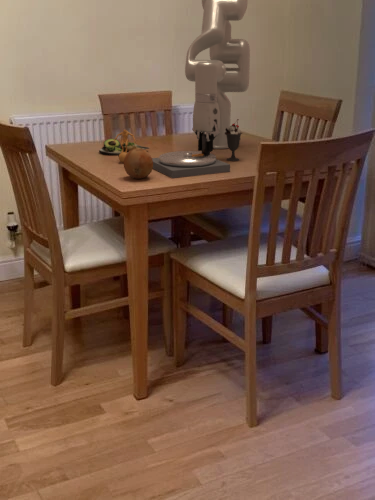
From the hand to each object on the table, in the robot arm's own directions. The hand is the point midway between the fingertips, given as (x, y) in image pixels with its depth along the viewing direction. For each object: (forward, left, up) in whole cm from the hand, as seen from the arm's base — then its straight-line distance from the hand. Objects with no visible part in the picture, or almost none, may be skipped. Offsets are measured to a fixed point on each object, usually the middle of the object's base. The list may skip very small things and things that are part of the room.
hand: (205, 150), depth 229 cm
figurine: (+24, -19, -6) cm, 31 cm away
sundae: (-14, -5, -6) cm, 16 cm away
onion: (+29, +7, -6) cm, 30 cm away
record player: (+8, +1, -3) cm, 8 cm away
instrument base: (+8, +1, -6) cm, 10 cm away
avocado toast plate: (+18, -39, -6) cm, 44 cm away
